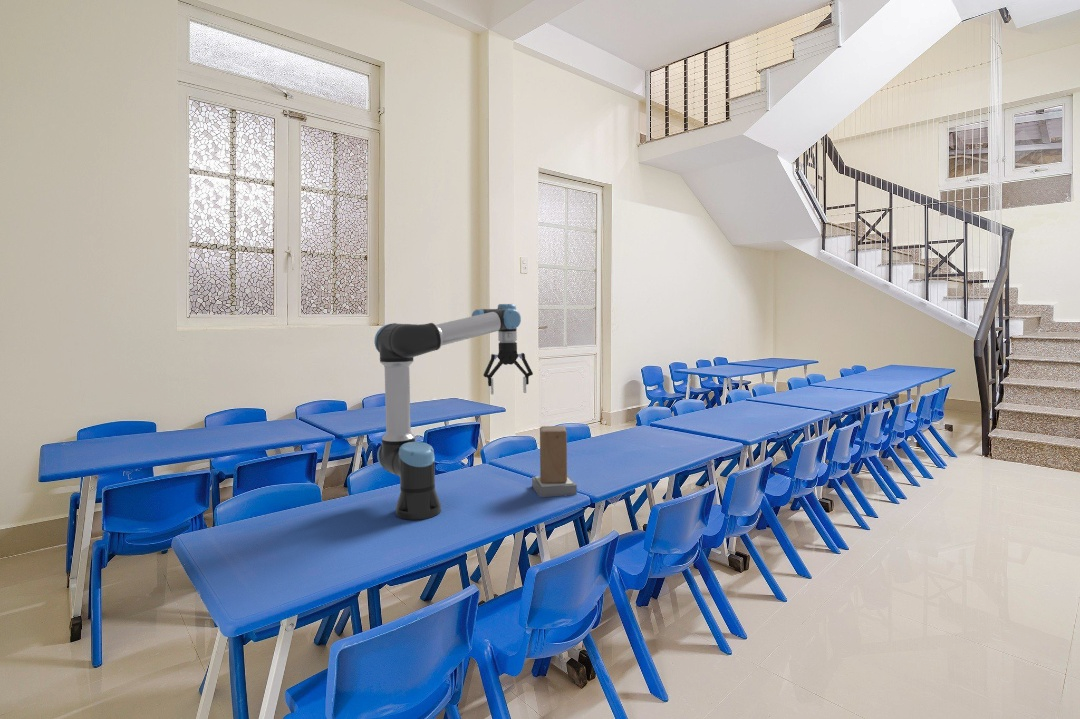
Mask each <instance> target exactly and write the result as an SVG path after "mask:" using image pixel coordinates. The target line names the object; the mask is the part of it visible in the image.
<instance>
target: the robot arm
mask: <svg viewBox="0 0 1080 719" xmlns="http://www.w3.org/2000/svg"><path fill="white" fill-rule="evenodd" d="M516 306H517V305H515V304H514V303H499V304H498V305H497V308H479V309H475V310H473V312H472V313H471V316H469V317H468V316H467V317H465V318H459V319H455V320H451V321H447V322H441V323H438V324H435V323H434V322H429V323H422V324H417V323H416V324H415V323H414V324H411V323H397V322H396V323H395V322H394V323H393V322H392V323H387V324H384V325H383V326H381V327H380V328H379V329H378V330H377V332H376V333H375V336H374V339H373V340H374V346H375V349H376V350H377V351H378V353H379V363H381V364H382V366H383V367H384V393H385V394H384V398H385V399H384V400H385V401H384V404H385V405H384V406H385V434H384V435H383V436H382V437H381V445H380V446H379V447H378V449H377V454H376V456H377V461H378V464H379V465H380V466H381V467H382V469H384V470H385V471H386V472H387V473H390V474H393V475H395V476H398V477H399V483H400V488H399V489H400V493H399V496H398V499H397V503H396V506H395V515H396V516H397V518H400V519H402V520H409V521H414V520H415V521H416V520H426V519H429V518H433V517H436V516H437V515H439V514H440V513H441V512H442V509H441V508H442V507H441V506H442V505H441V502H440V499H439V496H438V493H437V491H436V478H435V477H436V473H435V458H436V457H435V452H434V451H435V450H434V448H433V446H432V445H431V444H428V443H427V442H420V441H416V435H415V434H414V433H412V430H411V429H412V428H411V392H410V391H411V390H410V389H411V386H410V385H411V384H410V366H411V365H412V363H413V362H414V357H418V356H422V355H425V354H428V353H432V352H435V351H439V350H440V349H441V347H442V346H446V345H449V344H454V343H456V342H461V341H464V340H469V339H472V338H476V337H479V336H480V337H481V336H484V335H487V334H488V335H489V334H491V333H494V332H497V333H498V334H497V335H498V336H497V337H498V339H497V340H498V353H497V354H493V353H491V354H490V360H489V362H488V363H487V366H486V368H485V370H484V372H483V377H485V378H487V385H488V387H490V394H491V395H494V394H495V393H494V377H493V376H494V375H495V374H496V373H497V371H498V370H499V369H500V368H501V367H502V365H505V366H507V365H509V366H511V365H513V364H514V365H515V366H516V368H518V370H519V371H520V372H521V373H522V374H523V377H522V388H523V389H522V391H523V393H524V394H526V393H527V386H528V385H529V378H530V376H533V374H534V373H533V371H532V369H531V367H530V365H529V363H528V361H527V359H526V354H525V353H524V352H521V353H518V343H517V340H518V339H517V337H518V335H517V333H518V332H517V329H518V327H519V326H520V324H521V321H522V317H521V314H520V312H519V311H518V310H517V307H516ZM518 358H519V359H521V361H522V363H523V365H524V367H525V369H526V370H527V371H526V370H525V369H524V368H523V366H521V364H520V363H519V362H518V361H517V359H518ZM497 359H498V360H499V361H498V362H497V364H496V365H495V366H494V368H493V369H492V370H491V368H492V366H493V364H494V362H495V360H497ZM490 370H491V371H490Z"/></svg>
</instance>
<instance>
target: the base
mask: <svg viewBox="0 0 1080 719" xmlns="http://www.w3.org/2000/svg"><path fill="white" fill-rule="evenodd" d="M531 486H532V488H533V489H534V491H535V492H536V493H537V495H538V497H539V498H550V497H560V496H571V495H577V490H578V485H577V484H576V482H574V481H573V480H572V478H570V477H569V475H567V482H565V483H541V478H540V475H538V476H535V477H534V476H532V477H531Z"/></svg>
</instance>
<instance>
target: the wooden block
mask: <svg viewBox="0 0 1080 719" xmlns="http://www.w3.org/2000/svg"><path fill="white" fill-rule="evenodd" d="M566 429H567V428H566V427H565V426H564V425H553V426H551V425H550V426H549V425H547V426H546V425H544V426H543V425H542V426H540V428H539V465H540V467H539V468H540V470H539V471H540V472H539V473H540V474H539V476H540V478H541V483H565V482H567V476H568V437H567V436H568V433H567V432H568V431H567V430H566Z"/></svg>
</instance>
